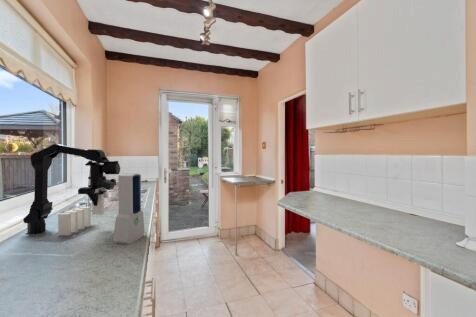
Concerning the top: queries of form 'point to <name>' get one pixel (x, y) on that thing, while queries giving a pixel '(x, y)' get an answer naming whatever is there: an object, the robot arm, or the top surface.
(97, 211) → the domino
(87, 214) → the domino
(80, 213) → the domino
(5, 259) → the top surface
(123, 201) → the electronic device
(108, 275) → the top surface
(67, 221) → the domino
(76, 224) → the domino
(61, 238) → the rubber mat
